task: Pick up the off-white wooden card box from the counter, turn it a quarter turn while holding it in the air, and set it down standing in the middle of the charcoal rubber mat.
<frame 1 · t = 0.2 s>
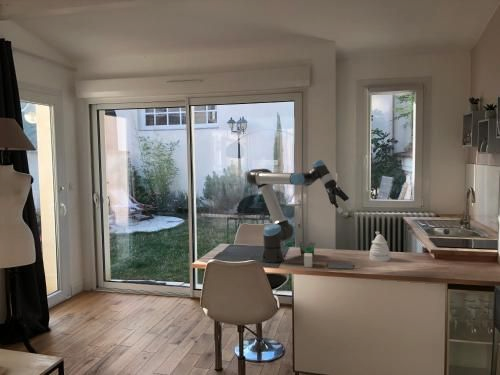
hand: (346, 210, 261), 35 cm above the worktop, tool tilted 35°, fingers open, 13 cm apart
card box: (308, 265, 267), on the worktop
rubber mat: (340, 266, 264), on the worktop
honey pot: (379, 259, 281), on the worktop
food container: (308, 256, 292), on the worktop
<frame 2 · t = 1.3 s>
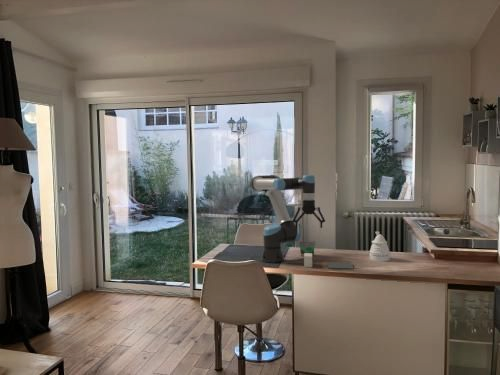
hand: (308, 233, 266), 21 cm above the worktop, tool pointing down, fingers open, 13 cm apart
nothing on the worktop moved.
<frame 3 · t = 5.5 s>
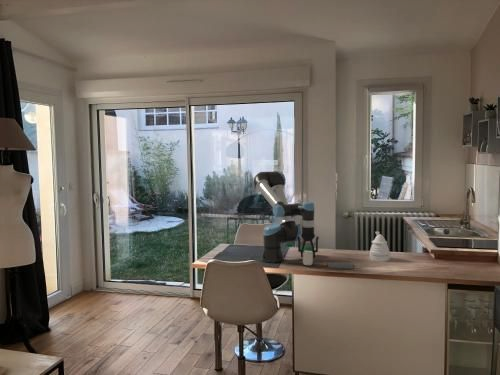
hand: (307, 262, 267), 2 cm above the worktop, tool pointing down, fingers closed on card box, 5 cm apart
card box: (307, 263, 267), point 1 cm above the worktop, touching gripper
everything else where it was.
when the fingers open (2 cm above the worktop, at t = 11.4 s): card box stays where it is, resting on rubber mat.
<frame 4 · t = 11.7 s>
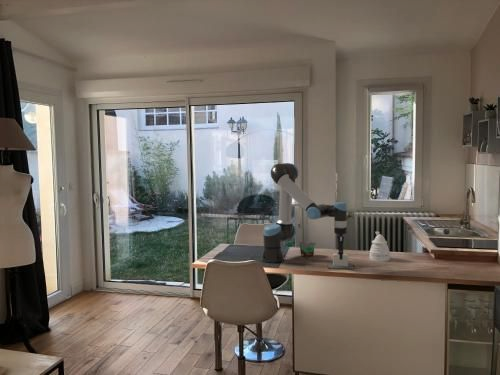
hand: (340, 262, 264), 2 cm above the worktop, tool pointing down, fingers open, 9 cm apart
card box: (340, 265, 264), point 1 cm above the worktop, touching rubber mat
everything else where it was.
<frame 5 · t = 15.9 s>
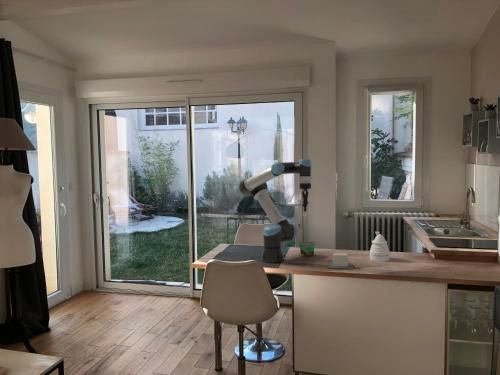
hand: (305, 215, 276), 31 cm above the worktop, tool pointing down, fingers open, 13 cm apart
nothing on the worktop moved.
at the end: card box inside the target area on the rubber mat (0.0 cm from its centre), point 0.6 cm above the rubber mat's base; card box tilted 0°; the gripper is holding nothing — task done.
